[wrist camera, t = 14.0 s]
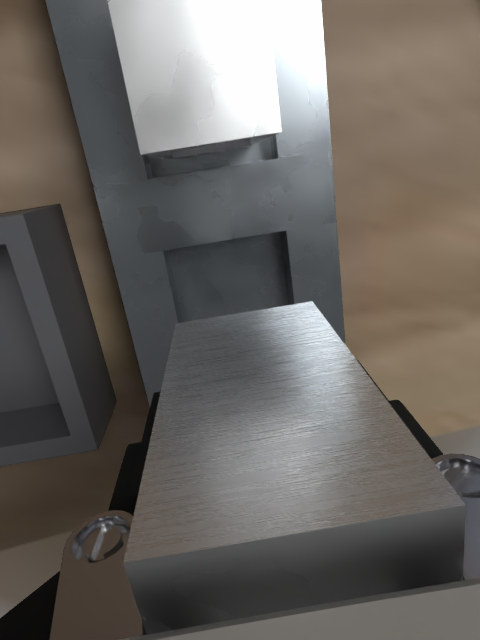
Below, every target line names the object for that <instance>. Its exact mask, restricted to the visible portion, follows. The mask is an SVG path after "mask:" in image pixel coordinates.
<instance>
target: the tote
mask: <svg viewBox="0 0 480 640" xmlns="http://www.w3.org/2000/svg"><path fill="white" fill-rule="evenodd" d="M115 404H116V398H115V394H114V391H113V387H112V384H111V380H110V377H109V373H108V370H107V366H106V363H105V359H104V356H103V352H102V349H101V345H100V342H99V338H98V335H97V331H96V328H95V324H94V321H93V317H92V314H91V310H90V307H89V303H88V300H87V296H86V293H85V289H84V286H83V282H82V279H81V275H80V272H79V268H78V265H77V261H76V258H75V254H74V251H73V247H72V244H71V240H70V237H69V233H68V230H67V226H66V223H65V219H64V216H63V212H62V209H61V205H60V204H56V205H50V206H43V207H37V208H31V209H25V210H19V211H12V212H6V213H0V466H6V465H12V464H18V463H24V462H30V461H36V460H42V459H48V458H53V457H59V456H65V455H71V454H77V453H83V452H89V451H95V450H98V448H99V445H100V443H101V440H102V438H103V435H104V432H105V430H106V427H107V424H108V422H109V419H110V417H111V414H112V411H113V409H114V406H115Z"/></svg>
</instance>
